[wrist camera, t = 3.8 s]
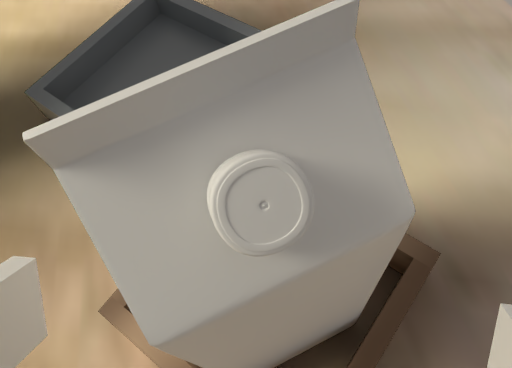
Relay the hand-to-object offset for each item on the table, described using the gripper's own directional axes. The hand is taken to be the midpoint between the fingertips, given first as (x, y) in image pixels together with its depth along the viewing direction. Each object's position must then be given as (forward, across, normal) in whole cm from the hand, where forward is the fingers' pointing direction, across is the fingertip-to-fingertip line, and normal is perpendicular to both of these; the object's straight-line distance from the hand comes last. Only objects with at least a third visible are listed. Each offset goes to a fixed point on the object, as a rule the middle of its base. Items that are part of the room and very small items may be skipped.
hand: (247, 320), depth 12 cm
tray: (+22, -11, +4) cm, 25 cm away
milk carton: (+12, -1, -6) cm, 13 cm away
